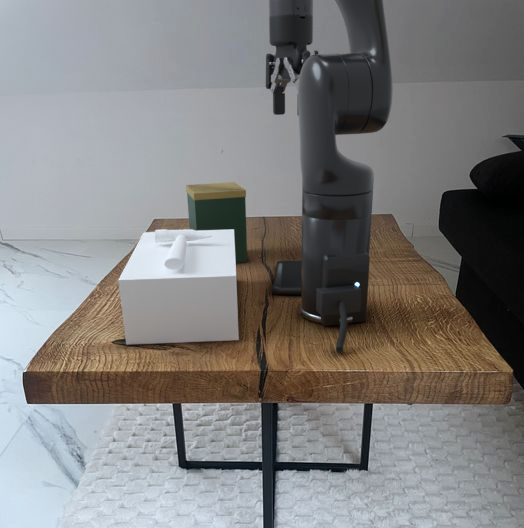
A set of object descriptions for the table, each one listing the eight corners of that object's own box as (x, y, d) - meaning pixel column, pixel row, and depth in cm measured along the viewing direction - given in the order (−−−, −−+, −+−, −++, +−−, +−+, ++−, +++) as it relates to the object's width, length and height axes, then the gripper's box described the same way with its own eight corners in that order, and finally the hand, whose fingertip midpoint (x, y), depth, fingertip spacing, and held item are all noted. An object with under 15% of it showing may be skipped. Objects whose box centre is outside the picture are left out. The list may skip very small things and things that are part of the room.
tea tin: (248, 262, 110) (245, 189, 105) (198, 266, 108) (193, 193, 103) (237, 249, 119) (234, 182, 113) (190, 253, 117) (185, 185, 111)
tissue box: (236, 280, 100) (233, 214, 96) (238, 340, 78) (235, 257, 73) (149, 283, 100) (142, 217, 95) (126, 344, 77) (115, 261, 73)
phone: (272, 287, 93) (277, 260, 106) (272, 294, 93) (277, 266, 107) (323, 288, 92) (322, 260, 106) (323, 295, 93) (322, 266, 106)
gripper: (252, 17, 107) (254, 115, 114) (294, 9, 96) (294, 118, 103) (288, 18, 111) (288, 113, 117) (333, 10, 99) (330, 116, 106)
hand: (291, 115), depth 110 cm, fingers open, 8 cm apart
